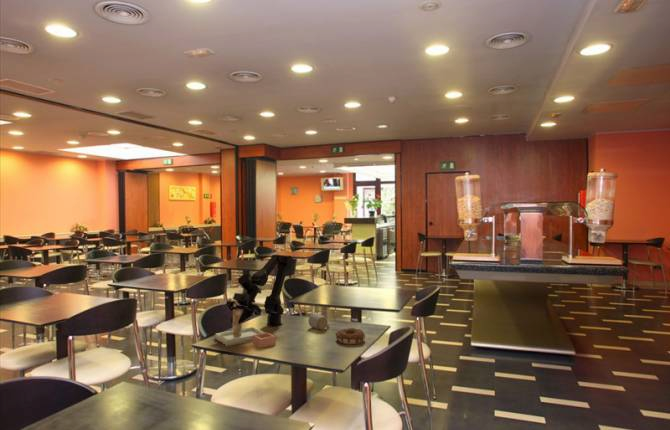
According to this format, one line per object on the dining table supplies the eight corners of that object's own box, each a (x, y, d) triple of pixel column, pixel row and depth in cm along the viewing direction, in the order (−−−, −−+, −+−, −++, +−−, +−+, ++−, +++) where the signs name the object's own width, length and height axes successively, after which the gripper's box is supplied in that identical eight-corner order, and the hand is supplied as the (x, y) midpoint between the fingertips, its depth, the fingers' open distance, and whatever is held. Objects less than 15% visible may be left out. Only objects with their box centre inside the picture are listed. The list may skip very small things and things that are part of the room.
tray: (253, 331, 216) (253, 326, 215) (266, 338, 204) (266, 333, 204) (215, 338, 204) (215, 333, 203) (227, 346, 192) (227, 340, 192)
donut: (367, 338, 205) (367, 328, 205) (360, 347, 193) (360, 336, 192) (340, 335, 210) (340, 325, 210) (331, 343, 197) (331, 333, 197)
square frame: (267, 340, 201) (267, 332, 201) (275, 344, 195) (275, 336, 195) (253, 343, 196) (253, 335, 196) (260, 348, 190) (260, 339, 190)
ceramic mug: (317, 331, 216) (318, 316, 216) (307, 328, 222) (308, 313, 222) (333, 328, 223) (333, 313, 223) (323, 325, 229) (323, 310, 229)
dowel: (241, 334, 204) (241, 308, 204) (241, 337, 200) (241, 311, 200) (233, 334, 203) (233, 309, 203) (232, 337, 199) (232, 311, 199)
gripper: (227, 284, 209) (211, 311, 200) (257, 288, 200) (242, 316, 191) (238, 297, 216) (223, 323, 207) (267, 301, 207) (253, 329, 198)
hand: (235, 323), depth 200 cm, fingers closed on dowel, 4 cm apart
